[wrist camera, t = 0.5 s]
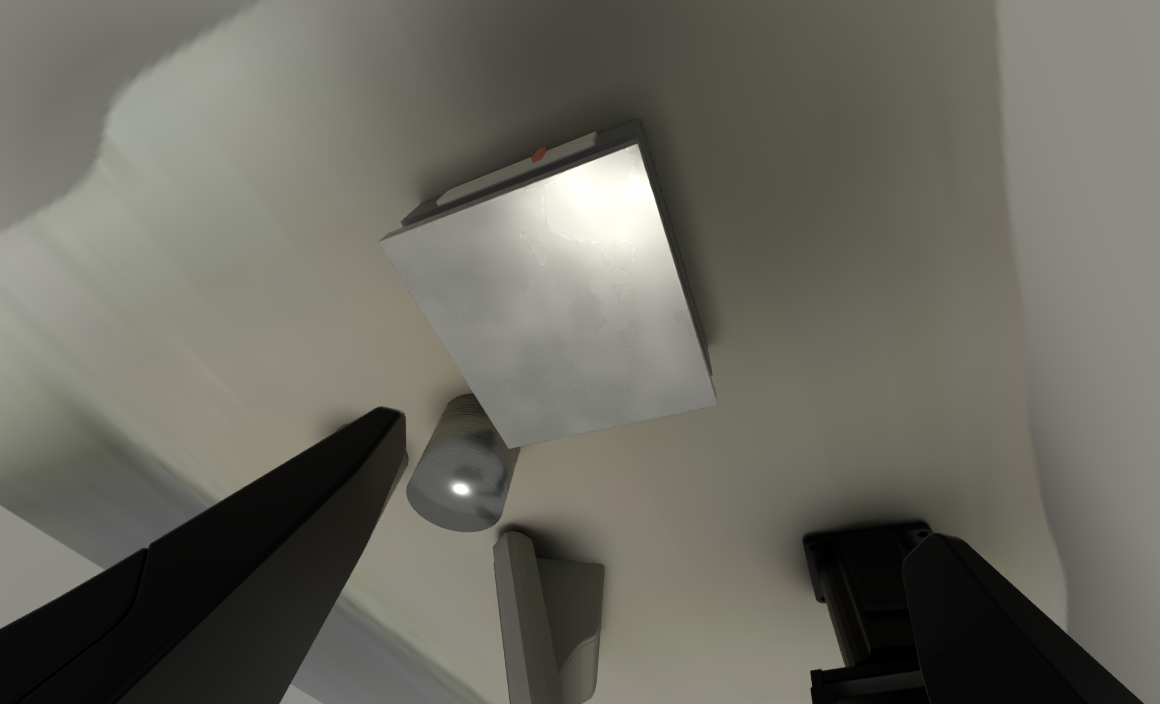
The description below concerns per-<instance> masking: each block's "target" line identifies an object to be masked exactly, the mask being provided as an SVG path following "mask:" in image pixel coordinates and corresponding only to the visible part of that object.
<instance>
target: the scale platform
mask: <svg viewBox="0 0 1160 704" xmlns="http://www.w3.org/2000/svg"><path fill="white" fill-rule="evenodd" d="M378 244H379V245H380V247H381V248H382V250H383V252H384V253H385V255H386V256H387V258H388V259H389V261H390V263H391V264H392V266H393V267H394V269H395V270H396V272H397V274H398V275H399V277H400V278H401V280H402V281H403V283H404V285H405V286H406V288H407V289H408V291H409V292H410V294H411V296H412V297H413V299H414V300H415V302H416V303H417V305H418V307H419V308H420V310H421V311H422V313H423V314H424V316H425V318H426V319H427V321H428V322H429V324H430V326H431V327H432V329H433V330H434V332H435V333H436V335H437V337H438V338H439V340H440V341H441V343H442V344H443V346H444V348H445V349H446V351H447V352H448V354H449V355H450V357H451V359H452V360H453V362H454V363H455V365H456V366H457V368H458V370H459V371H460V373H461V374H462V376H463V377H464V379H465V381H466V382H467V384H468V385H469V387H470V388H471V390H472V392H473V393H474V395H475V396H476V398H477V399H478V401H479V403H480V404H481V406H482V407H483V409H484V410H485V412H486V414H487V415H488V417H489V418H490V420H491V421H492V423H493V425H494V426H495V428H496V429H497V431H498V432H499V434H500V436H501V437H502V439H503V440H504V442H505V443H506V445H507V447H508V448H509V449H510V448H515V447H520V446H525V445H530V444H535V443H539V442H544V441H549V440H554V439H559V438H563V437H568V436H573V435H578V434H583V433H587V432H592V431H597V430H602V429H607V428H611V427H616V426H621V425H626V424H631V423H635V422H640V421H645V420H650V419H655V418H660V417H664V416H669V415H674V414H679V413H684V412H688V411H693V410H698V409H703V408H708V407H712V406H717V405H718V403H717V397H716V392H715V388H714V385H713V382H712V379H711V375H710V372H709V369H708V365H707V362H706V359H705V356H704V352H703V349H702V346H701V343H700V339H699V336H698V333H697V329H696V326H695V323H694V320H693V316H692V313H691V310H690V306H689V303H688V300H687V297H686V293H685V290H684V287H683V283H682V280H681V277H680V274H679V270H678V267H677V264H676V261H675V257H674V254H673V251H672V247H671V244H670V241H669V238H668V234H667V231H666V228H665V224H664V221H663V218H662V215H661V211H660V208H659V205H658V201H657V198H656V195H655V192H654V188H653V185H652V182H651V179H650V175H649V172H648V169H647V165H646V162H645V159H644V156H643V152H642V149H641V146H640V142H639V139H638V138H635V139H633V140H630V141H627V142H625V143H622V144H620V145H617V146H614V147H612V148H609V149H606V150H604V151H601V152H599V153H596V154H593V155H591V156H588V157H586V158H583V159H580V160H578V161H575V162H573V163H570V164H567V165H565V166H562V167H559V168H557V169H554V170H552V171H549V172H546V173H544V174H541V175H539V176H536V177H533V178H531V179H528V180H526V181H523V182H520V183H518V184H515V185H513V186H510V187H507V188H505V189H502V190H499V191H497V192H494V193H492V194H489V195H486V196H484V197H481V198H479V199H476V200H473V201H471V202H468V203H466V204H463V205H460V206H458V207H455V208H452V209H450V210H447V211H445V212H442V213H439V214H437V215H434V216H432V217H429V218H426V219H424V220H421V221H419V222H416V223H413V224H411V225H408V226H405V227H403V228H400V229H398V230H395V231H392V232H390V233H388V234H386V235H385V236H384V237H383V238H382V239H381V240H380V241H379V242H378Z"/></svg>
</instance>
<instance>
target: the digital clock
mask: <svg viewBox="0 0 1160 704" xmlns="http://www.w3.org/2000/svg"><path fill="white" fill-rule="evenodd" d="M493 554H494V571H495V580H496V588H497V597H498V606H499V614H500V623H501V631H502V640H503V649H504V657H505V666H506V674H507V683H508V692H509V700H510V704H582V703H584V702H586V701H587V700H589V699H590V698H592V696H593V694H594V692H595V688H596V682H597V670H598V656H599V643H600V628H601V613H602V597H603V581H604V567H603V566H602V565H599V564H591V563H582V562H572V561H563V560H553V559H544V558H536V556H535V551H534V546H533V542H532V540H531V538H529V537H528V536H526V535H524V534H522V533H520V532H515V531H510V532H506V533H505V534H504V535H503V536H502V537H501V538H500V539H499V540H498V541H497V543H496V544H495V545H494V546H493Z"/></svg>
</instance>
